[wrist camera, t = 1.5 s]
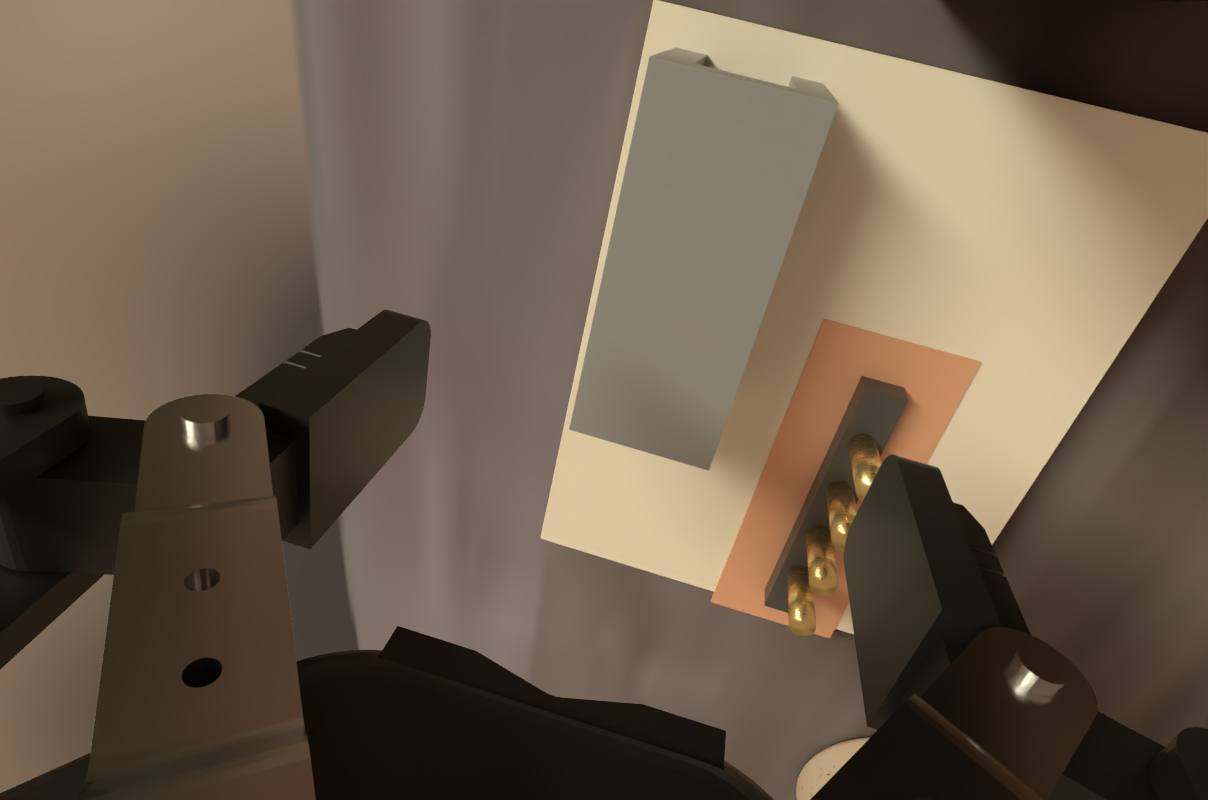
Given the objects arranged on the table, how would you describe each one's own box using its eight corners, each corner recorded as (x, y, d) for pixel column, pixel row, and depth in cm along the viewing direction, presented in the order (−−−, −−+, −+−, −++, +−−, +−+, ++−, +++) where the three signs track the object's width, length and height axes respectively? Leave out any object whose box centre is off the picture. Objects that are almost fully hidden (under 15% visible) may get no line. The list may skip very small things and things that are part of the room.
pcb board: (658, 0, 20) (653, -1, 19) (1233, 138, 19) (1257, 145, 18) (545, 532, 30) (537, 548, 29) (909, 643, 29) (914, 664, 28)
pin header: (861, 375, 23) (865, 388, 22) (904, 387, 23) (908, 400, 22) (764, 589, 28) (764, 605, 27) (798, 599, 28) (799, 616, 27)
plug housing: (676, 47, 20) (649, 56, 15) (823, 83, 19) (838, 103, 15) (604, 357, 25) (568, 429, 20) (719, 390, 24) (709, 470, 20)
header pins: (853, 430, 23) (862, 475, 21) (880, 437, 23) (892, 483, 21) (784, 579, 26) (785, 631, 24) (807, 586, 26) (810, 639, 24)
